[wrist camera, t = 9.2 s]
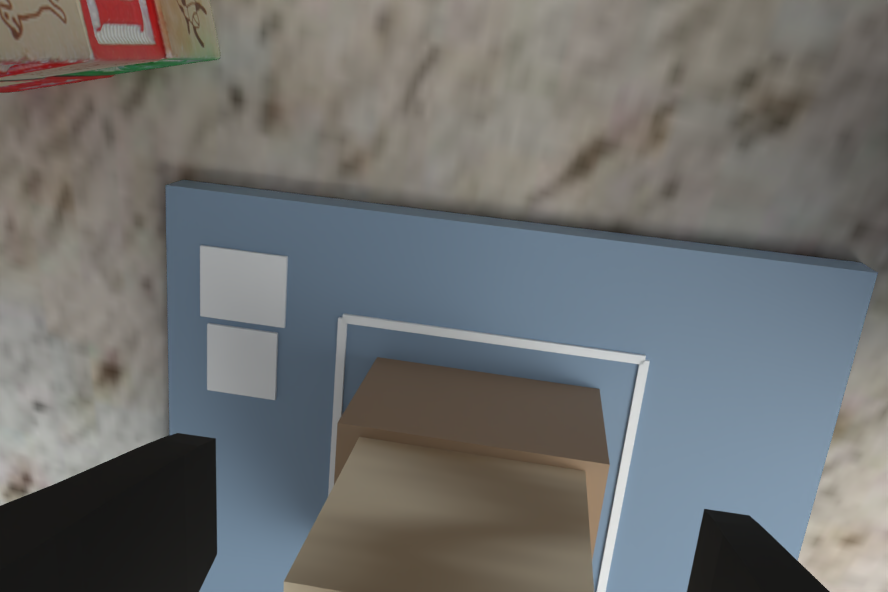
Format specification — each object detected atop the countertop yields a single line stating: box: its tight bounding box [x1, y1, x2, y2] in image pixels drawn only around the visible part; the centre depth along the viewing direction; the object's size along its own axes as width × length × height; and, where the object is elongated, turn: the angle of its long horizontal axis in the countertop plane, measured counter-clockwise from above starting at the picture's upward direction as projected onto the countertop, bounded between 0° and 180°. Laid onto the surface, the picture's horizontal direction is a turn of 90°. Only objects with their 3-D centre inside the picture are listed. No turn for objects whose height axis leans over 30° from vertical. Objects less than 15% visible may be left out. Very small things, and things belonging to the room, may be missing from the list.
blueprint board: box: [166, 180, 878, 592], centre depth 20 cm, size 18×14×5 cm
